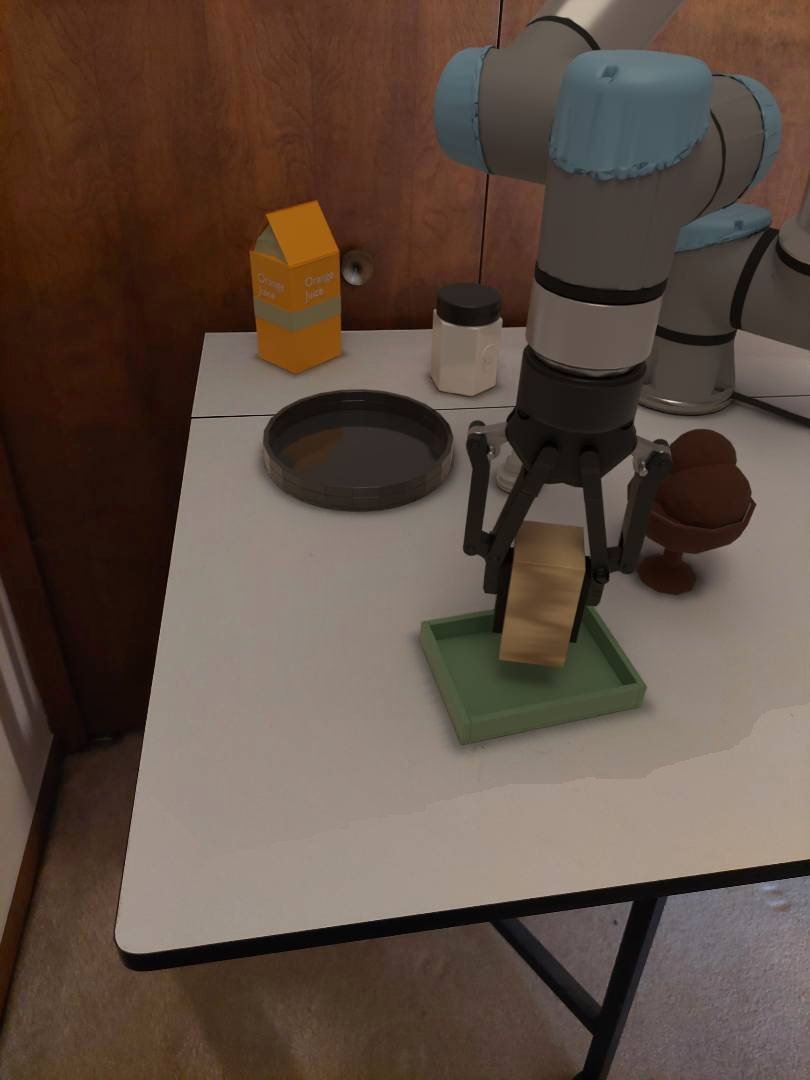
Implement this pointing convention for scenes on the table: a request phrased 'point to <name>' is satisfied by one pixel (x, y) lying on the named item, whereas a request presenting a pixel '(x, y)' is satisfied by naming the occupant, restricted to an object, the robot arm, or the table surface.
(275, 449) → the pan
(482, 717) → the tray
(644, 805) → the table surface
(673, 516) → the ice cream bowl
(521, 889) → the table surface
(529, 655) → the block
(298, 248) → the orange juice
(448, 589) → the table surface
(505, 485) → the chess piece
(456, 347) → the jar
